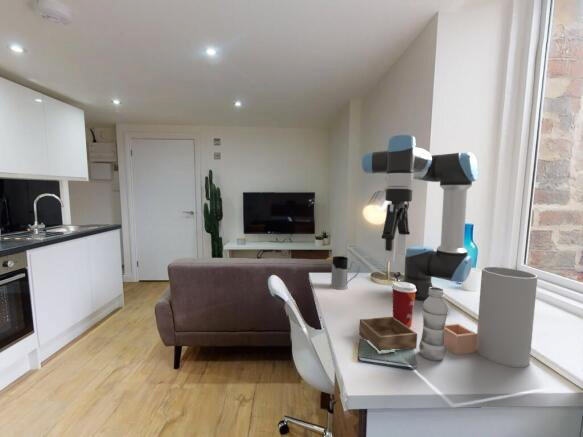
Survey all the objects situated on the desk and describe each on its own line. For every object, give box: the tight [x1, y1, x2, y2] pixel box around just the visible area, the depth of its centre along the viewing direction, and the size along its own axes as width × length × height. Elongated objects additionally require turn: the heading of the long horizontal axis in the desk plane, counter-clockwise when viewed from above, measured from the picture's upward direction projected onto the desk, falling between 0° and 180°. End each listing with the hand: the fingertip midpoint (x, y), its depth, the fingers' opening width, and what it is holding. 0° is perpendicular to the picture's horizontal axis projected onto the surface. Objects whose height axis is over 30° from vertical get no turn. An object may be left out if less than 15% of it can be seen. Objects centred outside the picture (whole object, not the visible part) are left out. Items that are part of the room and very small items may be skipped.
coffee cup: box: [391, 281, 417, 329], centre depth 100 cm, size 8×8×15 cm
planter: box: [444, 323, 477, 355], centre depth 86 cm, size 7×7×6 cm
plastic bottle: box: [418, 286, 449, 362], centre depth 80 cm, size 6×7×20 cm
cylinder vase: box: [476, 266, 538, 368], centre depth 81 cm, size 12×12×25 cm
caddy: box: [358, 316, 418, 351], centre depth 89 cm, size 12×12×5 cm
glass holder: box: [329, 255, 361, 291], centre depth 142 cm, size 9×14×15 cm, turn 82°
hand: (395, 257), depth 87 cm, fingers open, 13 cm apart
